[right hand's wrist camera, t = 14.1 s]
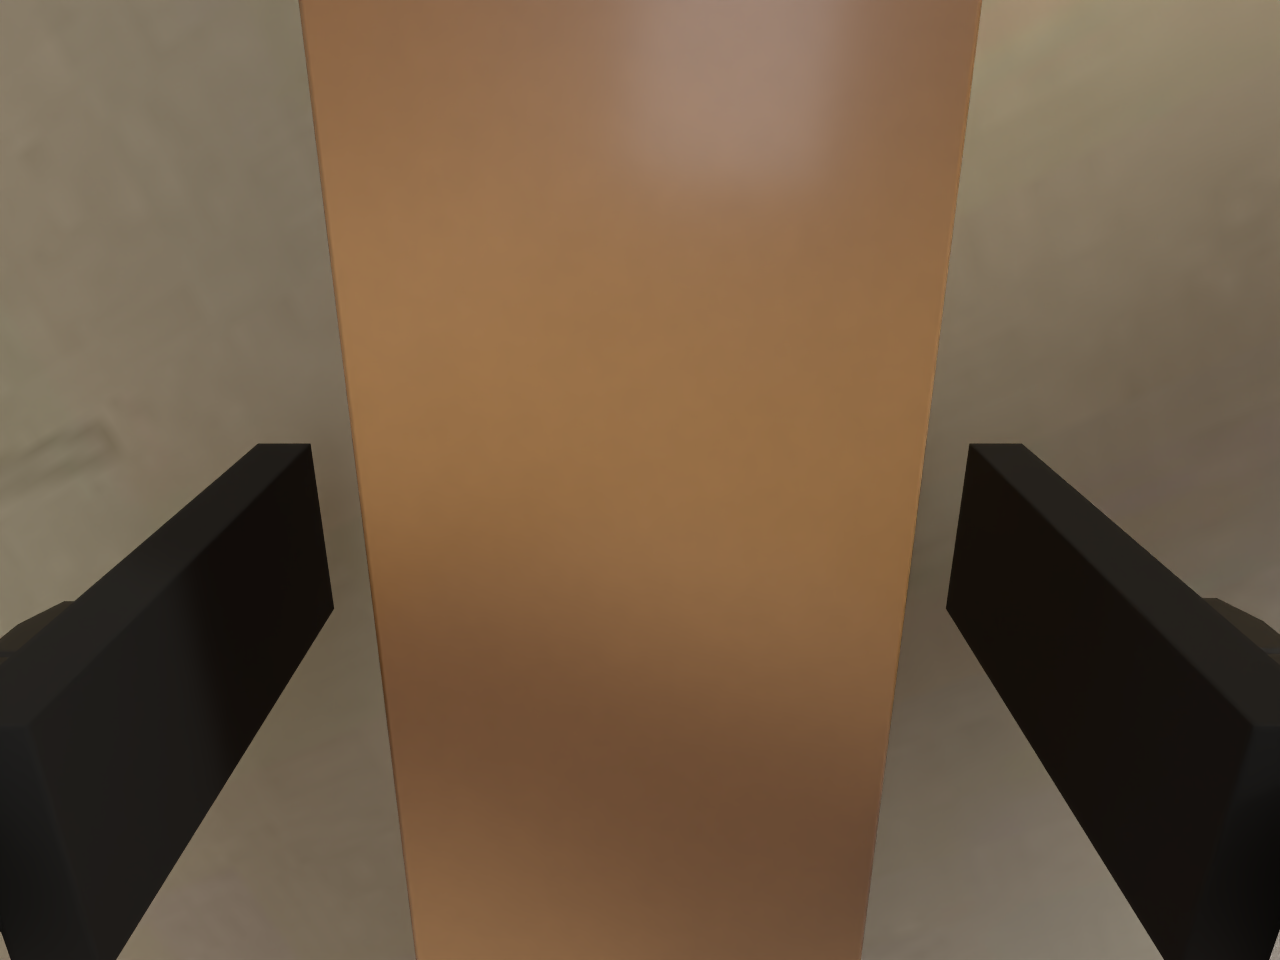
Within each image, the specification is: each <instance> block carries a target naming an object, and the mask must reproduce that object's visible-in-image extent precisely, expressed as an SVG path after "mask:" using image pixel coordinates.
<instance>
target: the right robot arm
mask: <svg viewBox="0 0 1280 960" xmlns="http://www.w3.org/2000/svg"><path fill="white" fill-rule="evenodd" d="M333 609H334V605H333V598H332V591H331V584H330V577H329V570H328V563H327V556H326V549H325V542H324V535H323V528H322V521H321V514H320V507H319V500H318V493H317V486H316V479H315V472H314V465H313V458H312V451H311V444H257V445H256V446H255V447H254V448H253V449H251V450H250V451H249V452H248V453H247V454H246V455H244V456H243V457H242V458H241V459H240V460H239V461H237V462H236V463H235V464H234V465H233V466H232V467H230V468H229V469H228V470H227V471H226V472H225V473H223V474H222V475H221V476H220V477H219V478H218V479H216V480H215V481H214V482H213V483H212V484H211V485H209V486H208V487H207V488H206V489H205V490H204V491H202V492H201V493H200V494H199V495H198V496H197V497H195V498H194V499H193V500H192V501H191V502H190V503H188V504H187V505H186V506H185V507H184V508H183V509H181V510H180V511H179V512H178V513H177V514H176V515H174V516H173V517H172V518H171V519H170V520H169V521H167V522H166V523H165V524H164V525H163V526H162V527H160V528H159V529H158V530H157V531H156V532H155V533H153V534H152V535H151V536H150V537H149V538H148V539H146V540H145V541H144V542H143V543H142V544H141V545H139V546H138V547H137V548H136V549H135V550H134V551H133V552H131V553H130V554H129V555H128V556H127V557H126V558H124V559H123V560H122V561H121V562H120V563H119V564H117V565H116V566H115V567H114V568H113V569H112V570H110V571H109V572H108V573H107V574H106V575H105V576H103V577H102V578H101V579H100V580H99V581H98V582H96V583H95V584H94V585H93V586H92V587H91V588H89V589H88V590H87V591H86V592H85V593H84V594H82V595H81V596H80V597H79V598H78V599H77V600H75V601H64V602H62V603H60V604H58V605H56V606H54V607H52V608H50V609H48V610H46V611H44V612H42V613H40V614H38V615H36V616H34V617H32V618H30V619H28V620H26V621H24V622H22V623H20V624H18V625H17V626H15V627H14V628H13V629H12V630H10V631H9V632H8V633H7V634H6V635H4V636H3V637H2V638H1V639H0V932H1V933H2V936H3V939H4V941H5V944H6V947H7V950H8V953H9V956H10V959H11V960H116V959H117V957H118V956H119V954H120V952H121V951H122V949H123V948H124V946H125V944H126V943H127V941H128V939H129V938H130V936H131V935H132V933H133V931H134V930H135V928H136V927H137V925H138V923H139V922H140V920H141V919H142V917H143V915H144V914H145V912H146V911H147V909H148V907H149V906H150V904H151V902H152V901H153V899H154V898H155V896H156V894H157V893H158V891H159V890H160V888H161V886H162V885H163V883H164V882H165V880H166V878H167V877H168V875H169V873H170V872H171V870H172V869H173V867H174V865H175V864H176V862H177V861H178V859H179V857H180V856H181V854H182V853H183V851H184V849H185V848H186V846H187V845H188V843H189V841H190V840H191V838H192V836H193V835H194V833H195V832H196V830H197V828H198V827H199V825H200V824H201V822H202V820H203V819H204V817H205V816H206V814H207V812H208V811H209V809H210V807H211V806H212V804H213V803H214V801H215V799H216V798H217V796H218V795H219V793H220V791H221V790H222V788H223V787H224V785H225V783H226V782H227V780H228V779H229V777H230V775H231V774H232V772H233V770H234V769H235V767H236V766H237V764H238V762H239V761H240V759H241V758H242V756H243V754H244V753H245V751H246V750H247V748H248V746H249V745H250V743H251V741H252V740H253V738H254V737H255V735H256V733H257V732H258V730H259V729H260V727H261V725H262V724H263V722H264V721H265V719H266V717H267V716H268V714H269V713H270V711H271V709H272V708H273V706H274V704H275V703H276V701H277V700H278V698H279V696H280V695H281V693H282V692H283V690H284V688H285V687H286V685H287V684H288V682H289V680H290V679H291V677H292V675H293V674H294V672H295V671H296V669H297V667H298V666H299V664H300V663H301V661H302V659H303V658H304V656H305V655H306V653H307V651H308V650H309V648H310V647H311V645H312V643H313V642H314V640H315V638H316V637H317V635H318V634H319V632H320V630H321V629H322V627H323V626H324V624H325V622H326V621H327V619H328V618H329V616H330V614H331V613H332V611H333ZM946 609H947V611H948V613H949V614H950V616H951V618H952V619H953V621H954V622H955V624H956V626H957V627H958V629H959V630H960V632H961V634H962V635H963V637H964V638H965V640H966V642H967V643H968V645H969V646H970V648H971V650H972V651H973V653H974V655H975V656H976V658H977V659H978V661H979V663H980V664H981V666H982V667H983V669H984V671H985V672H986V674H987V675H988V677H989V679H990V680H991V682H992V684H993V685H994V687H995V688H996V690H997V692H998V693H999V695H1000V696H1001V698H1002V700H1003V701H1004V703H1005V704H1006V706H1007V708H1008V709H1009V711H1010V712H1011V714H1012V716H1013V717H1014V719H1015V721H1016V722H1017V724H1018V725H1019V727H1020V729H1021V730H1022V732H1023V733H1024V735H1025V737H1026V738H1027V740H1028V741H1029V743H1030V745H1031V746H1032V748H1033V750H1034V751H1035V753H1036V754H1037V756H1038V758H1039V759H1040V761H1041V762H1042V764H1043V766H1044V767H1045V769H1046V770H1047V772H1048V774H1049V775H1050V777H1051V778H1052V780H1053V782H1054V783H1055V785H1056V787H1057V788H1058V790H1059V791H1060V793H1061V795H1062V796H1063V798H1064V799H1065V801H1066V803H1067V804H1068V806H1069V807H1070V809H1071V811H1072V812H1073V814H1074V816H1075V817H1076V819H1077V820H1078V822H1079V824H1080V825H1081V827H1082V828H1083V830H1084V832H1085V833H1086V835H1087V836H1088V838H1089V840H1090V841H1091V843H1092V844H1093V846H1094V848H1095V849H1096V851H1097V853H1098V854H1099V856H1100V857H1101V859H1102V861H1103V862H1104V864H1105V865H1106V867H1107V869H1108V870H1109V872H1110V873H1111V875H1112V877H1113V878H1114V880H1115V882H1116V883H1117V885H1118V886H1119V888H1120V890H1121V891H1122V893H1123V894H1124V896H1125V898H1126V899H1127V901H1128V902H1129V904H1130V906H1131V907H1132V909H1133V910H1134V912H1135V914H1136V915H1137V917H1138V919H1139V920H1140V922H1141V923H1142V925H1143V927H1144V928H1145V930H1146V931H1147V933H1148V935H1149V936H1150V938H1151V939H1152V941H1153V943H1154V944H1155V946H1156V948H1157V949H1158V951H1159V952H1160V954H1161V956H1162V957H1163V959H1164V960H1269V959H1270V956H1271V953H1272V950H1273V947H1274V944H1275V942H1276V939H1277V936H1278V933H1279V930H1280V634H1278V633H1277V632H1276V631H1275V630H1273V629H1272V628H1271V627H1270V626H1268V625H1267V624H1266V623H1265V622H1264V621H1262V620H1260V619H1258V618H1256V617H1254V616H1252V615H1250V614H1248V613H1246V612H1244V611H1242V610H1239V609H1237V608H1235V607H1233V606H1231V605H1229V604H1227V603H1225V602H1223V601H1221V600H1219V599H1217V598H1201V597H1200V596H1199V595H1198V594H1196V593H1195V592H1194V591H1193V590H1192V589H1191V588H1189V587H1188V586H1187V585H1186V584H1185V583H1184V582H1182V581H1181V580H1180V579H1179V578H1178V577H1177V576H1175V575H1174V574H1173V573H1172V572H1171V571H1170V570H1168V569H1167V568H1166V567H1165V566H1164V565H1163V564H1162V563H1160V562H1159V561H1158V560H1157V559H1156V558H1155V557H1153V556H1152V555H1151V554H1150V553H1149V552H1148V551H1146V550H1145V549H1144V548H1143V547H1142V546H1141V545H1139V544H1138V543H1137V542H1136V541H1135V540H1134V539H1132V538H1131V537H1130V536H1129V535H1128V534H1127V533H1125V532H1124V531H1123V530H1122V529H1121V528H1120V527H1118V526H1117V525H1116V524H1115V523H1114V522H1113V521H1111V520H1110V519H1109V518H1108V517H1107V516H1106V515H1104V514H1103V513H1102V512H1101V511H1100V510H1099V509H1097V508H1096V507H1095V506H1094V505H1093V504H1092V503H1090V502H1089V501H1088V500H1087V499H1086V498H1085V497H1083V496H1082V495H1081V494H1080V493H1079V492H1078V491H1076V490H1075V489H1074V488H1073V487H1072V486H1071V485H1069V484H1068V483H1067V482H1066V481H1065V480H1064V479H1062V478H1061V477H1060V476H1059V475H1058V474H1057V473H1055V472H1054V471H1053V470H1052V469H1051V468H1050V467H1048V466H1047V465H1046V464H1045V463H1044V462H1043V461H1041V460H1040V459H1039V458H1038V457H1037V456H1036V455H1034V454H1033V453H1032V452H1031V451H1030V450H1029V449H1027V448H1026V447H1025V446H1024V445H1023V444H969V451H968V458H967V465H966V472H965V479H964V486H963V493H962V500H961V507H960V514H959V521H958V528H957V535H956V542H955V549H954V556H953V563H952V570H951V577H950V584H949V591H948V598H947V605H946Z"/></svg>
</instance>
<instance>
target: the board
mask: <svg viewBox="0 0 1280 960" xmlns="http://www.w3.org/2000/svg"><path fill="white" fill-rule="evenodd" d="M981 5H982V0H299V8H300V16H301V24H302V32H303V41H304V49H305V57H306V65H307V73H308V81H309V90H310V98H311V106H312V114H313V122H314V130H315V139H316V147H317V155H318V163H319V171H320V179H321V188H322V196H323V204H324V212H325V220H326V228H327V237H328V245H329V253H330V261H331V269H332V277H333V285H334V294H335V302H336V310H337V318H338V326H339V334H340V343H341V351H342V359H343V367H344V375H345V383H346V392H347V400H348V408H349V416H350V424H351V432H352V441H353V449H354V457H355V465H356V473H357V481H358V490H359V498H360V506H361V514H362V522H363V530H364V539H365V547H366V555H367V563H368V571H369V579H370V588H371V596H372V604H373V612H374V620H375V628H376V636H377V645H378V653H379V661H380V669H381V677H382V685H383V694H384V702H385V710H386V718H387V726H388V734H389V743H390V751H391V759H392V767H393V775H394V783H395V792H396V800H397V808H398V816H399V824H400V832H401V841H402V849H403V857H404V865H405V873H406V881H407V890H408V898H409V906H410V914H411V922H412V930H413V938H414V947H415V955H416V960H861V954H862V946H863V939H864V931H865V923H866V915H867V907H868V899H869V891H870V883H871V875H872V867H873V859H874V852H875V844H876V836H877V828H878V820H879V812H880V804H881V796H882V788H883V780H884V772H885V765H886V757H887V749H888V741H889V733H890V725H891V717H892V709H893V701H894V693H895V685H896V678H897V670H898V662H899V654H900V646H901V638H902V630H903V622H904V614H905V606H906V598H907V591H908V583H909V575H910V567H911V559H912V551H913V543H914V535H915V527H916V519H917V512H918V504H919V496H920V488H921V480H922V472H923V464H924V456H925V448H926V440H927V432H928V425H929V417H930V409H931V401H932V393H933V385H934V377H935V369H936V361H937V353H938V345H939V338H940V330H941V322H942V314H943V306H944V298H945V290H946V282H947V274H948V266H949V258H950V251H951V243H952V235H953V227H954V219H955V211H956V203H957V195H958V187H959V179H960V172H961V164H962V156H963V148H964V140H965V132H966V124H967V116H968V108H969V100H970V92H971V85H972V77H973V69H974V61H975V53H976V45H977V37H978V29H979V21H980V13H981Z"/></svg>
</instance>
